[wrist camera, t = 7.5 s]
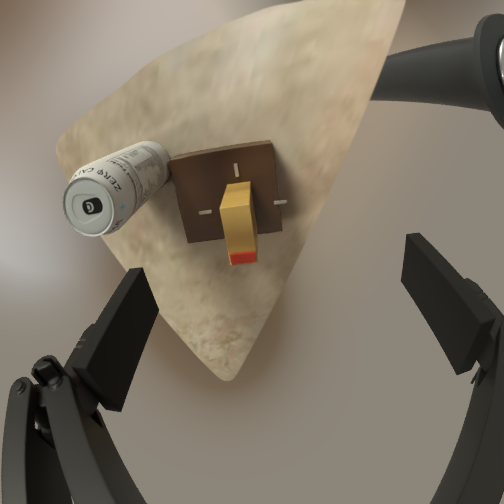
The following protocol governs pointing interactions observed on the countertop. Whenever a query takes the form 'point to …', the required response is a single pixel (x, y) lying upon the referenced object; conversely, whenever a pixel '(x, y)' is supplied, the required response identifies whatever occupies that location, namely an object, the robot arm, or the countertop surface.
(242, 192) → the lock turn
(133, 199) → the energy drink can
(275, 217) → the plate
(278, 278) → the countertop surface
